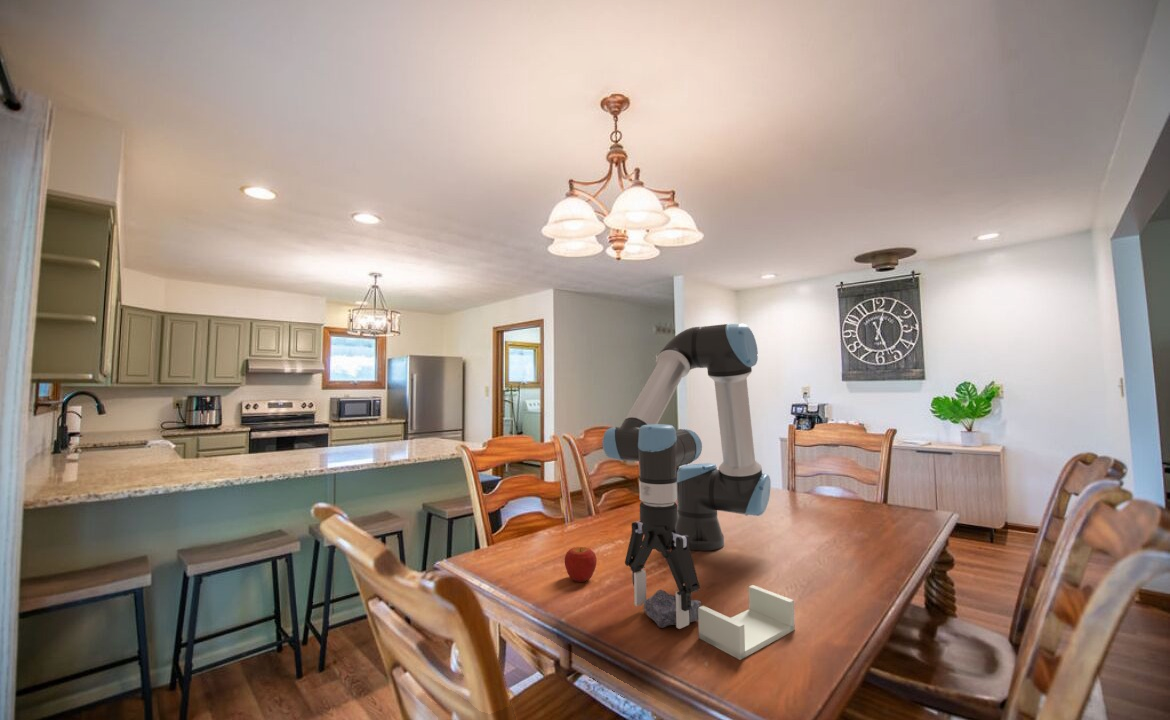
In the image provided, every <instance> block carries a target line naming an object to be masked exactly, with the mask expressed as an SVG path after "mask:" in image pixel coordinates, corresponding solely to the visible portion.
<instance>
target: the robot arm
mask: <svg viewBox="0 0 1170 720" xmlns="http://www.w3.org/2000/svg"><path fill="white" fill-rule="evenodd" d="M758 354H759V352H758V345H757V341H756V338H755V335H754V333H753V330H751V328H750V327H749V326H748V325H747V324H746V323H745V324H744V323H724V324H722V323H721V324H714V325H713V324H712V325H706V326H705V325H704V326H693V327H690V328H688V329H687V328H686V329H685V330H682V331H681V332H679V333H678V334H676V335H675V336H674V337H673V338H671V339H670V340H669V341H668V342H667V343H666V344H665V345H664V346H663V348H662V349H661V350H660V352H659V354H658V356H657V358H656V366H655V368H654V369H653V371H652V373H651V375H649V377H648V380H647V381H646V383H645V385H644V386H643V388H642V390H641V392H640V393H639V394H638V397H637V398H636V400H635V402H634V403H633V405H632V407H631V408H630V410H629V411H628V414H626V416H625V418H624V420H623V422H622V423H621V425H620V426H615V427H609V428H608V429H606V431H605V432H604V434H603V436H602V437H603V438H602V449H603V452H604V454H605V456H606V457H608V459H613V460H618V461H622V462H623V461H624V462H626V461H627V462H638V470H639V471H638V473H639V476H638V478H639V481H638V482H639V500H640V501H641V502H640V503H639V520H638V521H635V522H631V535H630V539H629V542H628V547H627V551H626V556H625V561H624V564H625V566H627V567H630V570H631V572H632V585H633V587H634V588H633V590H634V591H633V595H634V601H633V602H634V606H636V607H639V606H641V605H644V604H645V602H646V600H647V571H646V569H645V568H646V566H645V565H646V563H647V561H648V559H649V557H650V556H651V553H652V552H653V550H656V551H658V552H659V553H661V555H662V558H664V559H665V561H666V562H667V565H668V567H669V569H670V572H671V575H672V577H673V579H674V582H675V584H676V586H677V589H678V590H677V591H675V596H676V624H675V627H676V628H677V629H679V630H680V629H683V628H686V627H687V626H689V625H690V623H689V610H690V609H691V600H692V593H695V592H698V591H699V590H700V589H701V587H700V586H701V585H700V583H699V579H698V575H697V572H696V571H697V570H696V567H695V563H694V559H693V556H692V551H700V552H701V551H702V552H703V551H704V552H705V551H716V550H719V549H722V548H723V547H724V546H725V537H724V534H723V532H722V528H721V525H720V521H719V519H718V511H720V512H725V513H732V514H739V515H745V516H746V517H747V516H755V517H760V516H762V515H763V514H764V513H765V512H766V510H767V507H768V505H769V501H770V496H771V486H772V485H771V481H772V480H771V477H770V475H769V474H767V473H763V469H762V465H761V464H760V463H759V462H758V461H757V460H756V457H755V448H754V446H755V445H754V438H753V437H754V436H753V428H752V419H751V418H752V417H751V409H750V399H749V388H748V381H747V380H748V379H747V378H748V377H749V376H750V374H751V373H752V371H753V370H752V369H753V368H752V367H754V366H756V365H757V363H758V358H759V357H758ZM702 368H703V369H707V376H708V377H709V378H710V379H712V380H713V381H714V388H715V390H714V391H715V400H716V407H717V408H716V409H717V417H718V426H719V435H720V443H721V453H722V460H723V461H722V462H721V464H720V465H719V466H718V467H717V465H716V463H711V462H709V463H708V462H707V463H694V464H693V462H695V461H696V460H697V459H699V458H700V456H701V453H702V451H703V443H702V441H701V438H700V436H699V435H698V434H697V433H696V432H695V431H693V430H691V429H688V428H687V429H685V428H683V429H682V428H679V429H676V428H675V426H673V425H672V424H663V423H659V422H660V420H661V418H662V416H663V414H664V413H665V411H666V408H667V407H668V405H669V404H670V401H671V399H672V397H673V395H674V393H675V391H676V390H677V388H678V386H679V384H680V382H681V381H682V378H685V377H687V375H688V374H689V373H690V372H691V370H694V369H702ZM691 463H692V464H691ZM677 468H678V469H677ZM717 468H718V469H717ZM644 569H645V570H644Z"/></svg>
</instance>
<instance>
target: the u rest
mask: <svg viewBox="0 0 1170 720" xmlns="http://www.w3.org/2000/svg"><path fill="white" fill-rule="evenodd" d="M748 601H749V603H748V604H749V606H748V607H749V608H748V609H747V610H744V611H742V612H740V613H738V614H736V615H733V616H731V617H729V616H727V615H726V614H723V613H720V612H718V611H716V610H714V609H711V608H709V607H707V606H705V605H700V607H699V608H698V621H697V622H698V639H700V640H702V641H703V642H705V643H707V644H709V645H711V646H713V647H715V648H717V649H719V650H720V651H722V652H723V653H726V654H728V655H730V656H732V657H734V658H736V659H737V660H739V661H742V660H743V659H745V658H747V657H749V656H751V655H752V654H753V653H756V652H758V651H759V650H761V649H762V648H765V647H767V646H768V645H770V644H771V643H772V644H773V642H776V641H777V640H779V639H781V638H783V637H784V636H786V635H788V634H790V633H792V632H793V631H795V630H796V628H795V626H796V625H795V623H796V621H795V600H794V599H791V598H789V597H786V596H783V595H782V594H778V593H775V592H773V591H770V590H767V589H765V588H764V587H763V588H762V587H760V586H757V585H754V584H752V585H749V586H748Z"/></svg>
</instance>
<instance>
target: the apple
mask: <svg viewBox="0 0 1170 720" xmlns="http://www.w3.org/2000/svg"><path fill="white" fill-rule="evenodd" d="M597 563H598V562H597V555H596V554H595V552H594V551H593V550H592V549H591V548H589V547H581V546H576V547H572V548H569V550H568V551H567V552H566V554H565V555H564V566H565V571H566V573H567V574H568V576H569V578H571V580H572V581H575V582H579V583H583V582H586V581H588V580H589V579H591V578H592V576H593V575H594V573H595V570H596V566H597Z"/></svg>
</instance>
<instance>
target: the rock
mask: <svg viewBox="0 0 1170 720" xmlns="http://www.w3.org/2000/svg"><path fill="white" fill-rule="evenodd" d="M701 606H702V602H701V601H700V600H699V599H698V600H697V599H694V600H693V599H691V609H690V610H689V624H690V623H692V622H698V608H699V607H701ZM643 608H644V613H645V614H646V616H648V618H650V619H652V620H653V621H654V622H655V624H656V625H657V627H659V628H661V629H664V628H666V627H667V626H672V625H674V626H676V595H674V594H670V593H668V592H667V591H665V590H662V589H659V590H657V591H656V592H655V593H654V594H653V595H651V596H649V597H648V598H646V602H645V603H644V604H643Z"/></svg>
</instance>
